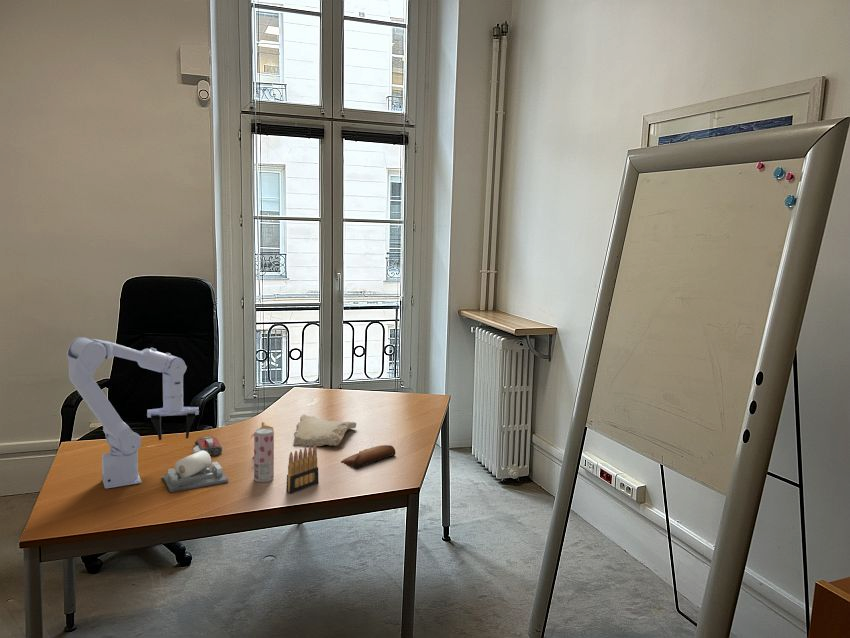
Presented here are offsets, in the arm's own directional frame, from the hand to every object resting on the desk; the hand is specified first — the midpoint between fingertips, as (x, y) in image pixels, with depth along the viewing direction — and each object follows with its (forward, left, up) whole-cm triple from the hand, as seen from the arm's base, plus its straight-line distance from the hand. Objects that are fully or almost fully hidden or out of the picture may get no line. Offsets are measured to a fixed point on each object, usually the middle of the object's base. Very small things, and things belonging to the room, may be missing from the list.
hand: (173, 438), depth 193 cm
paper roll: (+4, -13, -7) cm, 15 cm away
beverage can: (+22, -21, -10) cm, 31 cm away
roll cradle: (+4, -13, -9) cm, 16 cm away
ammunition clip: (+30, -32, -10) cm, 44 cm away
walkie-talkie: (+12, +8, -10) cm, 18 cm away
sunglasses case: (+57, -19, -10) cm, 61 cm away
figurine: (+27, -3, -10) cm, 28 cm away
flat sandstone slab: (+52, +8, -10) cm, 54 cm away
